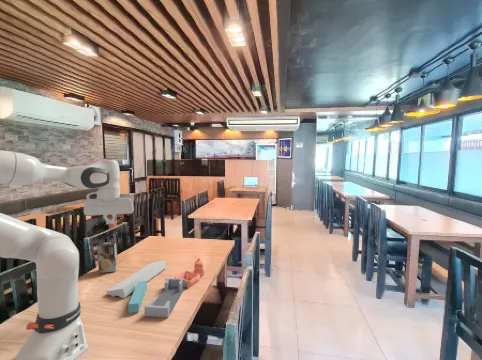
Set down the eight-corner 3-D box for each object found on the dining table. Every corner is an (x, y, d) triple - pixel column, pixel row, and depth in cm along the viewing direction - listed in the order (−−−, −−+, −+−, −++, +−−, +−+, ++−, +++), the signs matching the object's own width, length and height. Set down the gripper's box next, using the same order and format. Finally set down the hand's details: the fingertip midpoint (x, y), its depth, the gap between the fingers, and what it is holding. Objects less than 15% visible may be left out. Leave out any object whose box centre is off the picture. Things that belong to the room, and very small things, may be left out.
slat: (138, 314, 106) (138, 303, 106) (128, 315, 105) (128, 304, 105) (146, 290, 126) (146, 280, 125) (138, 290, 125) (138, 281, 124)
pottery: (189, 289, 126) (188, 270, 125) (174, 285, 131) (174, 267, 130) (209, 275, 142) (209, 258, 141) (195, 271, 147) (195, 255, 146)
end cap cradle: (168, 319, 102) (168, 307, 102) (144, 318, 103) (144, 306, 103) (185, 288, 127) (185, 278, 127) (166, 287, 128) (166, 277, 127)
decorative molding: (109, 300, 119) (125, 298, 116) (106, 291, 119) (122, 288, 116) (152, 270, 152) (166, 268, 149) (150, 262, 152) (164, 260, 149)
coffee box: (118, 267, 151) (117, 241, 150) (115, 271, 145) (114, 244, 144) (101, 268, 149) (100, 242, 147) (98, 273, 142) (97, 246, 141)
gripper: (134, 192, 120) (135, 220, 121) (85, 193, 113) (86, 223, 114) (133, 194, 114) (134, 224, 115) (82, 195, 107) (83, 227, 108)
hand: (110, 223), depth 115 cm, fingers closed
